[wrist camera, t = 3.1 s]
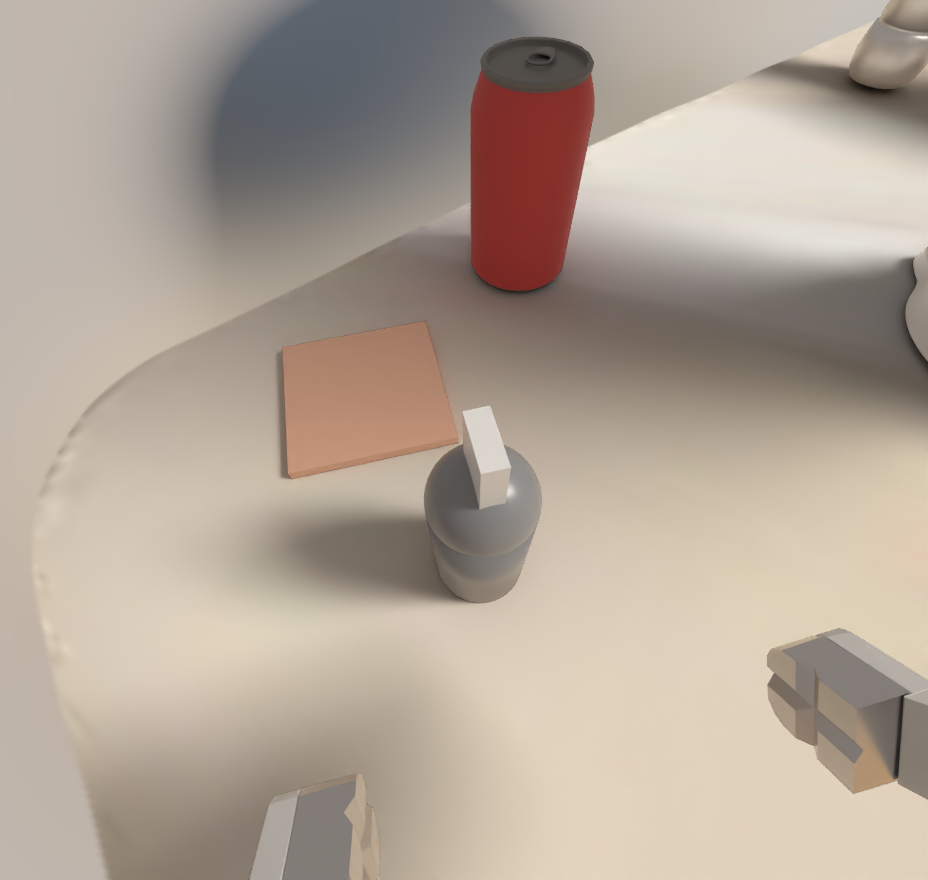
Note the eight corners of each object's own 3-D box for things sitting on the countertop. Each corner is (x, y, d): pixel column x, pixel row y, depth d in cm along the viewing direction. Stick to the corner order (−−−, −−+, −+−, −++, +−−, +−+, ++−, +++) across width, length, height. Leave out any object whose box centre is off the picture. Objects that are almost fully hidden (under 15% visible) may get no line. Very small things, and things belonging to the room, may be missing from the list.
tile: (426, 327, 29) (425, 320, 29) (458, 442, 25) (457, 437, 24) (285, 353, 28) (282, 347, 28) (291, 478, 24) (287, 473, 23)
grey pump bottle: (507, 511, 23) (533, 367, 13) (532, 590, 21) (584, 487, 11) (429, 529, 22) (399, 394, 13) (447, 612, 20) (426, 525, 11)
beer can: (574, 250, 33) (620, 43, 23) (544, 307, 30) (582, 98, 20) (491, 228, 35) (500, 24, 24) (455, 281, 32) (447, 73, 21)
